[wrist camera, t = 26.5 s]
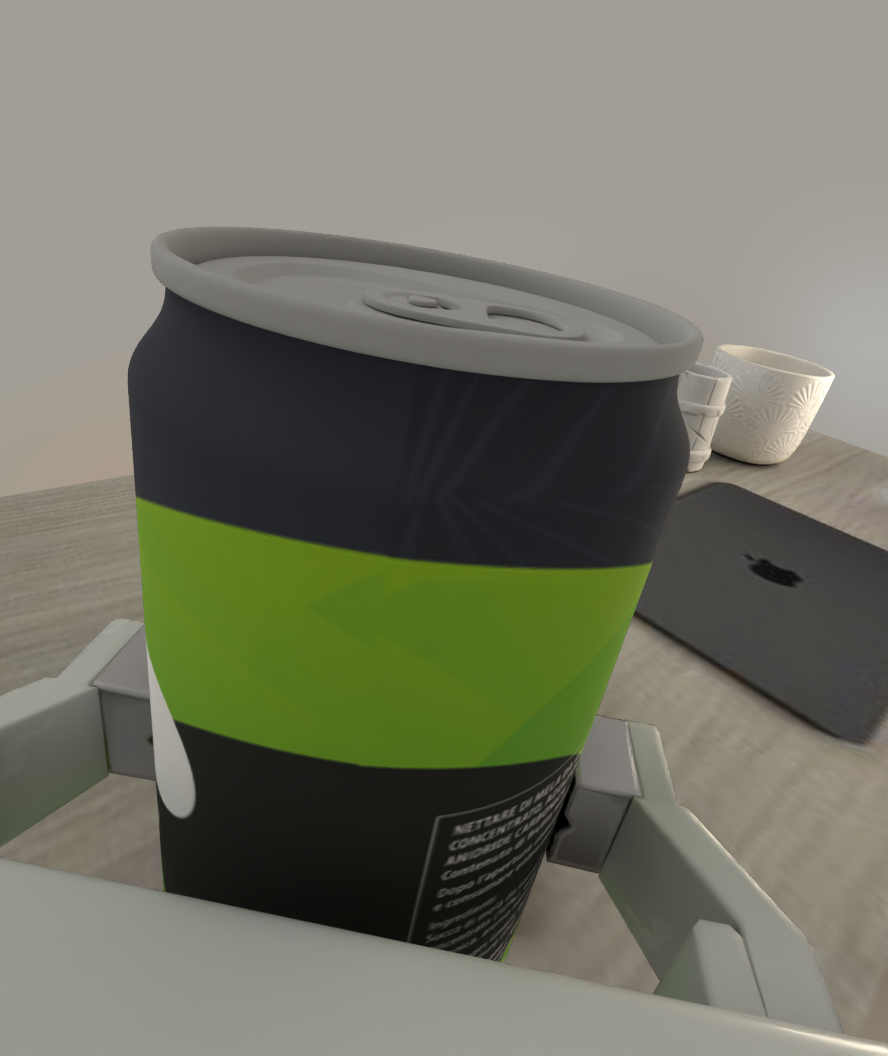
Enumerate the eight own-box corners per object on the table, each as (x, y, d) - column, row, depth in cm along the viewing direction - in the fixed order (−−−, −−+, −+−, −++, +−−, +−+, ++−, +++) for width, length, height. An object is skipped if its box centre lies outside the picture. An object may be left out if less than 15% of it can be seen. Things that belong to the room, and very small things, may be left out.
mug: (719, 475, 68) (764, 363, 62) (618, 469, 64) (656, 349, 59) (681, 447, 74) (719, 342, 68) (588, 439, 71) (620, 329, 65)
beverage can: (469, 882, 17) (645, 285, 10) (471, 1217, 11) (870, 410, 4) (232, 850, 17) (239, 212, 10) (117, 1179, 11) (-65, 249, 4)
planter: (807, 482, 70) (854, 385, 65) (694, 458, 71) (731, 361, 66) (775, 444, 81) (812, 358, 76) (677, 423, 82) (707, 337, 77)
